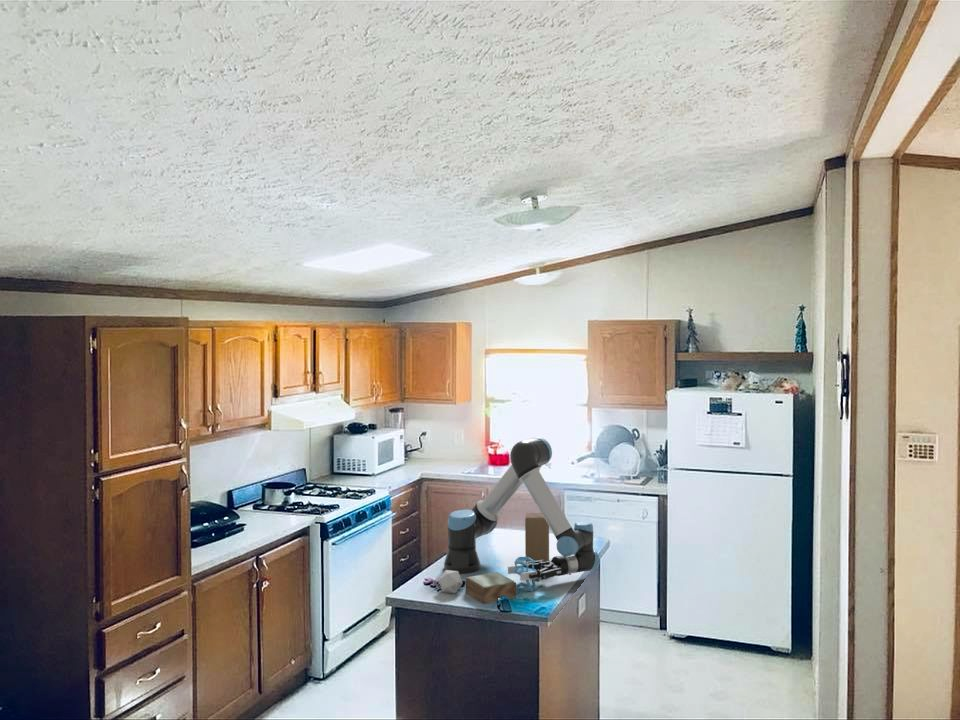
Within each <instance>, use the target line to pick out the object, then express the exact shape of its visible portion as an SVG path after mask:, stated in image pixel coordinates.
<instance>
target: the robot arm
mask: <svg viewBox="0 0 960 720" xmlns="http://www.w3.org/2000/svg"><path fill="white" fill-rule="evenodd" d="M509 456H510V458H509V459H510V463H511V464H510V466H509V467H508V469H507V470H506V471H505V473H504V474H503V475H502V476H501V477H500V479H499V480H498V482H497V483H496V484H495V485H494V486H493V487H492V489H491V490H490V491H489V493H488V494H487V495H486V497H485V498H484V499H482V500H478V501H477V502H476V504H475V505H474V506H473V508H472V509H460V510H455V511H451V512H450V514H449V515H448V517H447V522H446V523H447V553H446V555H445V559H444V561H443V567H444V568H443V569H444V571H445V570H451V571H458V572H459V574H469V573H473V572H477V571H479V570H480V569H481V561H480V559H479V555H478V552H477V543H476V542H477V541H476V539H478V538H480V537H483V536H486V535H488V534H490V533H491V532H493V531H494V529H496V527H497V524H498V521H499V519H500V513H501V511H502V510H503V509H504V507H505V506H506V505H507V504H508V503H509V501H511V499H513V496H514V495H515V494H516V492H517V491H518V490H519V489H520V488H521V486H522V485H523V484H524V485H525V488H526V489H527V491H528V492H529V494H530V495H531V498H532V499H533V501H534V503H535V505H536V506H537V508H538V510H539V512H540V513H542V515H543V516H544V518H545V520H546V522H547V523H548V525H549V529H550V530H551V532H552V533H553V535H554V537H555V539H556V541H557V542H556V550H557V552H558V553H559V555H558V556H557V555H556V556H553V557H552V559H551V560H549V561H546V562H544V560H539V561H535V564H534V569H536V571H530V572H525V573H520V575H519V576H520V581H521V582H523V581H525V580H529V581H530V580H532V579H535V580H536V579H538V580H539V579H540V580H542V581H543V580H547V579H550V578H553V577H560V576H566V575H569V576H571V575H572V574H575V573H577V574H578V573H583V572H589V571H593V570H596V569H598V568H599V566H600V565H601V563H600V562H601V559H600V557H599V553H598V551H596V550H594V525H593V523H592V522H590V521H576V522H575V523H574V526H573V527H574V528H573V527H572V526H571V524H570V522H569V520H568V519H567V517H566V515H565V513H564V512H563V510H562V508H561V506H560V504H559V503H558V501H557V500H556V497H555V496H554V494H553V493H552V491H551V489H550V488H549V486H548V484H547V483H546V481H545V479H544V477H543V476H542V475H543V474H542V473H541V472H540V469H541V468H542V466H544V465H547V464H548V463H549V462H550V461H551V459H552V458H553V457H552V456H553V450H552V447H551V444H550V443H549V442H548V440H546V439H545V438H542V437H532V438H528V439H526V440H520V441H518V442H516V443H515V444H514V445H513V447H511V450H510V454H509ZM524 562H525V563H527V564H529V566H528V568H529V569H532V565H533V563H532V562H531V561H529V562H526V561H524ZM521 566H522V564H517V567H518V569H519V568H521ZM524 567H525V568H526V566H525V565H524ZM515 570H516V566H515V565H510V566H507V574H508V575H511V574H514V571H515Z"/></svg>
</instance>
